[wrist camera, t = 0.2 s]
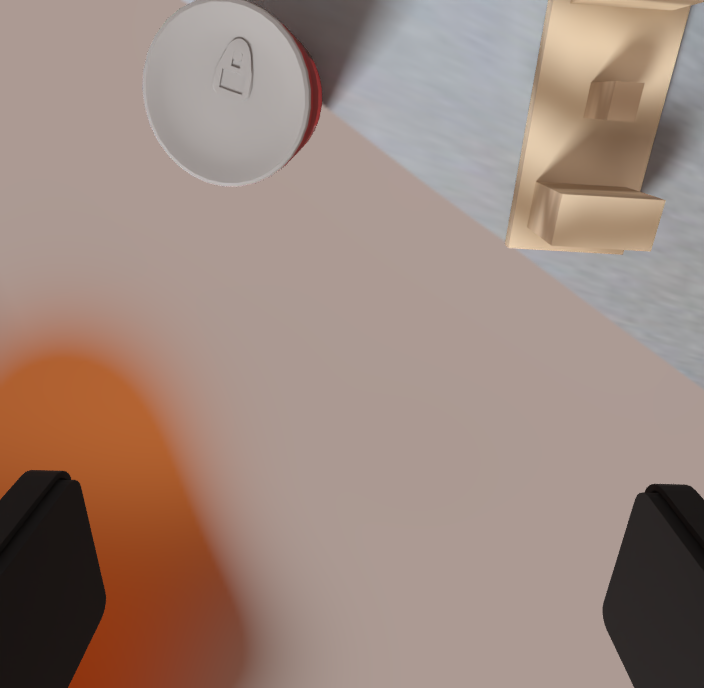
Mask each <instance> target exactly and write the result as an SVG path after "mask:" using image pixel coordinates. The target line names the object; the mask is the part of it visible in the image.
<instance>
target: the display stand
mask: <svg viewBox="0 0 704 688" xmlns="http://www.w3.org/2000/svg"><path fill="white" fill-rule="evenodd" d="M701 2H704V0H548V5H547V10H546V16H545V21H544V27H543V33H542V38H541V44H540V49H539V55H538V61H537V66H536V72H535V78H534V83H533V89H532V94H531V100H530V106H529V111H528V117H527V122H526V128H525V134H524V139H523V145H522V151H521V156H520V162H519V167H518V173H517V179H516V184H515V190H514V196H513V201H512V207H511V212H510V218H509V224H508V229H507V235H506V240H505V245H506V246H507V247H508V248H518V249H535V250H552V251H570V252H587V253H604V254H621V255H623V252H624V250H635V251H651V249H652V245H653V242H654V238H655V235H656V232H657V228H658V225H659V221H660V218H661V215H662V211H663V208H664V204H665V201H666V200H663V199H660V198H657V197H654V196H651V195H648V194H645V193H642V192H640V190H641V186H642V182H643V179H644V175H645V171H646V168H647V164H648V160H649V157H650V153H651V149H652V146H653V142H654V138H655V135H656V131H657V127H658V124H659V120H660V116H661V113H662V109H663V105H664V102H665V98H666V94H667V91H668V87H669V83H670V80H671V76H672V72H673V69H674V65H675V61H676V58H677V54H678V50H679V47H680V43H681V39H682V36H683V32H684V28H685V25H686V21H687V17H688V14H689V10H690V6H691V5H694V4H698V3H701Z"/></svg>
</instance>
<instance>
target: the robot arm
mask: <svg viewBox="0 0 704 688" xmlns="http://www.w3.org/2000/svg"><path fill="white" fill-rule="evenodd" d="M105 604H106V594H105V589H104V585H103V580H102V576H101V572H100V567H99V563H98V559H97V554H96V550H95V546H94V542H93V537H92V533H91V528H90V524H89V520H88V515H87V511H86V507H85V502H84V498H83V494H82V490H81V486H80V483H79V482H78V481H76V480H71V477H70V475H69V474H68V473H67V472H65V471H45V470H30V471H27V472H25V473H24V474H23V475H22V476H21V477H20V478H19V479H18V480H17V481H16V483H15V484H14V485H13V486H12V487H11V488H10V489H9V490H8V492H7V493H6V494H5V495H4V496H3V497H2V498H1V500H0V688H68V686H69V684H70V682H71V680H72V678H73V676H74V674H75V672H76V670H77V668H78V666H79V664H80V662H81V660H82V658H83V656H84V653H85V651H86V649H87V647H88V645H89V643H90V641H91V639H92V637H93V635H94V633H95V631H96V629H97V627H98V625H99V623H100V620H101V618H102V616H103V613H104V609H105ZM603 619H604V623H605V626H606V629H607V631H608V633H609V635H610V637H611V640H612V642H613V644H614V646H615V648H616V650H617V652H618V654H619V656H620V659H621V661H622V663H623V665H624V667H625V669H626V671H627V673H628V675H629V677H630V679H631V682H632V684H633V686H634V688H704V500H703V498H702V497H701V496H700V495H699V494H698V493H697V491H696V490H694V489H693V488H692V487H691V486H688V485H676V484H675V485H674V484H673V485H672V484H652V485H650V486H648V488H647V489H646V490H645V493H639V494H638V495H637V497H636V499H635V502H634V505H633V509H632V512H631V515H630V518H629V521H628V525H627V528H626V531H625V534H624V538H623V541H622V544H621V547H620V551H619V554H618V557H617V561H616V564H615V567H614V571H613V574H612V577H611V580H610V583H609V587H608V590H607V593H606V597H605V600H604V603H603Z"/></svg>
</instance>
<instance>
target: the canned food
mask: <svg viewBox="0 0 704 688" xmlns="http://www.w3.org/2000/svg"><path fill="white" fill-rule="evenodd" d="M142 89H143V98H144V106H145V110H146V113H147V117H148V120H149V124H150V126H151V128H152V130H153V132H154V134H155V136H156V139H157V140H158V142H159V143H160V145H161V146H162V147H163V149H164V150H165V152H166V153H167V155H168V156H169V157H170V158H171V159H172V160H173V161H174V162H175V163H176V164H177V165H178V166H179V167H180V168H182V169H183V170H185V171H186V172H188V173H189V174H191V175H192V176H193V177H196V178H198V179H200V180H202V181H205V182H207V183H211V184H215V185H219V186H234V187H236V186H237V187H239V186H244V185H249V184H254V183H257V182H259V181H262V180H264V179H266V178H269V177H270V176H272V175H273V174H274V173H276V172H277V171H279V170H280V169H281V168H283V167H284V166H285V165H286V164H287V163H288V162H289V161H290V160H291V159H292V158H293V157H294V156H295V155H296V154H297V153H298V151H299V150H300V149H301V148H302V147H303V146H304V145H305V144H306V143H307V142H308V140H309V139H310V137H311V135H312V134H313V132H314V131H315V128H316V126H317V123H318V120H319V117H320V112H321V106H322V89H321V82H320V77H319V74H318V71H317V68H316V65H315V63H314V61H313V60H312V58H311V56H310V54H309V53H308V51H307V50H306V49H305V48H304V46H303V45H302V44H301V43H300V42H299V41H298V40H297V38H296V37H295V36H294V35H293V34H292V33H291V32H290V31H289V30H288V29H287V28H286V27H285V26H284V25H283V24H282V23H281V22H280V21H279V20H277V19H276V18H275V17H274V16H272V15H271V14H270V13H268V12H267V11H266V10H264V9H262V8H260V7H258V6H256V5H254V4H253V3H251V2H248V1H244V0H196V1H194V2H192V3H190V4H188V5H186V6H184V7H182V8H180V9H179V10H177V11H176V12H175V13H174V14H173V15H172V16H171V17H169V18H168V19H167V20H166V21H165V23H164V24H163V25H162V27H161V28H160V29H159V31H158V32H157V33H156V35H155V37H154V39H153V41H152V44H151V45H150V48H149V50H148V53H147V57H146V61H145V65H144V69H143V87H142Z"/></svg>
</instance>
